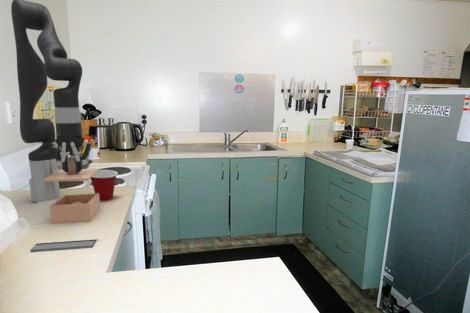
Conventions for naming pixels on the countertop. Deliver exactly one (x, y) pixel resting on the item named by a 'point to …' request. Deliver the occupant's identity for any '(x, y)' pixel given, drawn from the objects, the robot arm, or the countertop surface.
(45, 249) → the mat
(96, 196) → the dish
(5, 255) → the countertop surface
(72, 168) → the lid
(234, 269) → the countertop surface
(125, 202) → the countertop surface
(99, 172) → the plastic cup
